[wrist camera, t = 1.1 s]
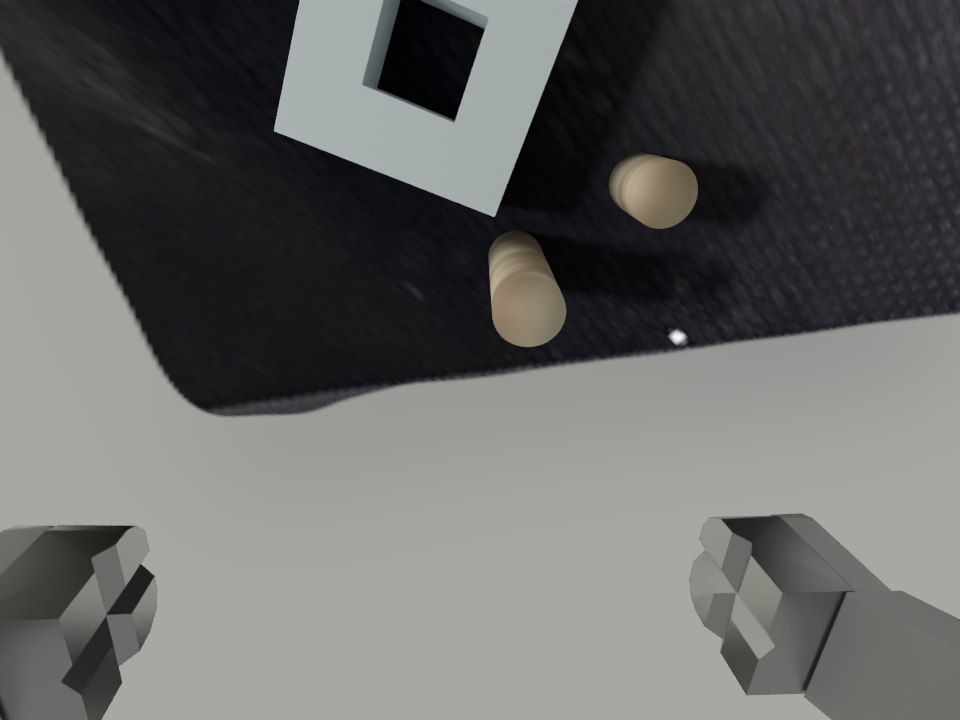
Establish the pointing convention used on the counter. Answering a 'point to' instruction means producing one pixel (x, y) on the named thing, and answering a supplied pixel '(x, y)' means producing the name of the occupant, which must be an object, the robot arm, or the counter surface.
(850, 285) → the counter surface
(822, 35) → the counter surface
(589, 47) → the counter surface
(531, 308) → the tall pin
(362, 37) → the hole board
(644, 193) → the short pin
